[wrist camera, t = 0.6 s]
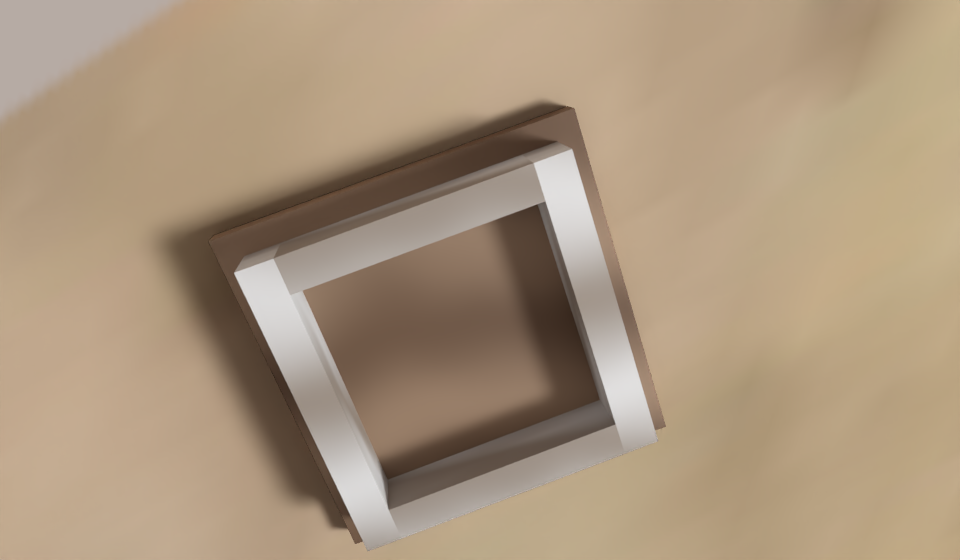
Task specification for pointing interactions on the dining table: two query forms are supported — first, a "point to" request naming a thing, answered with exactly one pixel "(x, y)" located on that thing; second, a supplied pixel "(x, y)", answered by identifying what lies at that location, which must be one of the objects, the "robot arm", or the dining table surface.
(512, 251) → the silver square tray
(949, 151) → the dining table surface
